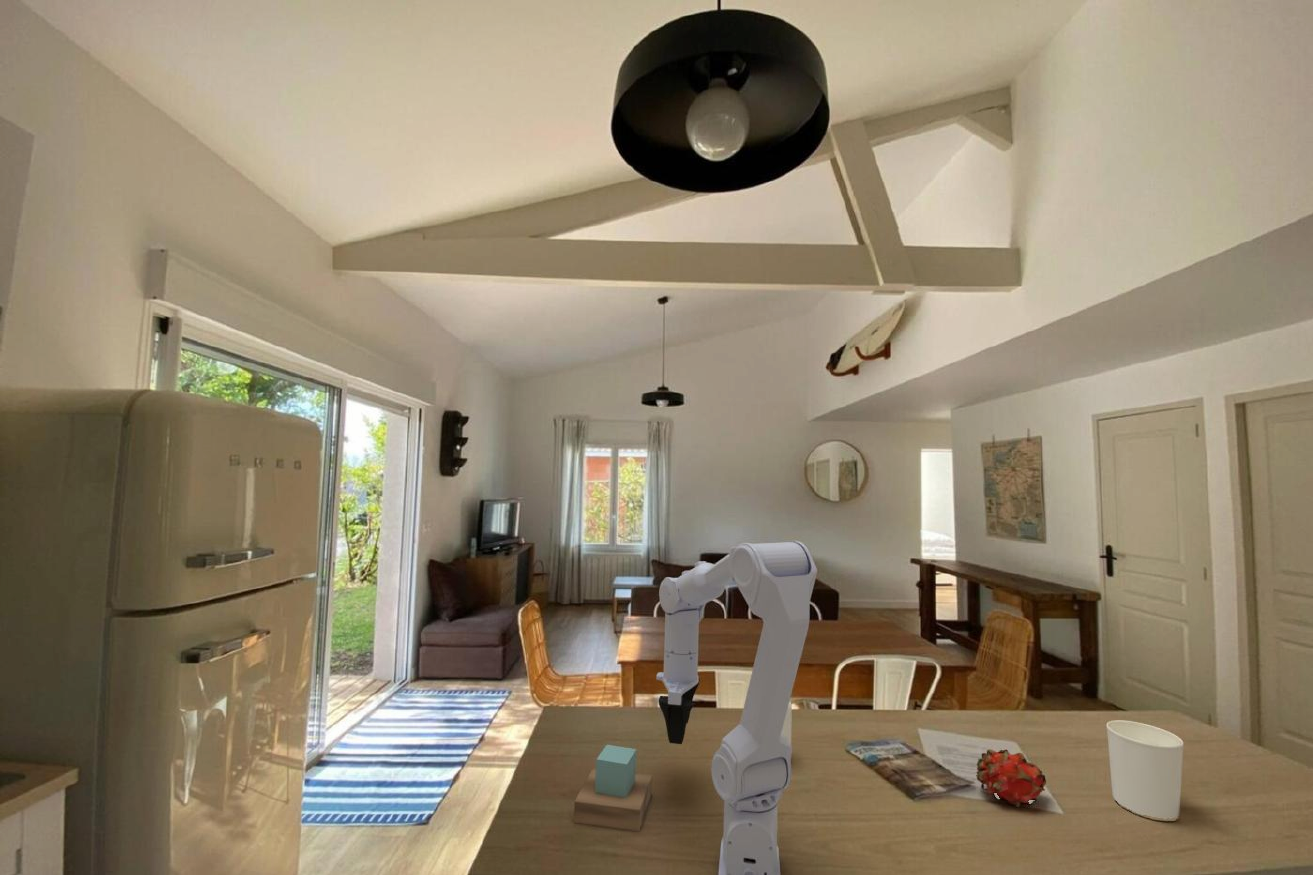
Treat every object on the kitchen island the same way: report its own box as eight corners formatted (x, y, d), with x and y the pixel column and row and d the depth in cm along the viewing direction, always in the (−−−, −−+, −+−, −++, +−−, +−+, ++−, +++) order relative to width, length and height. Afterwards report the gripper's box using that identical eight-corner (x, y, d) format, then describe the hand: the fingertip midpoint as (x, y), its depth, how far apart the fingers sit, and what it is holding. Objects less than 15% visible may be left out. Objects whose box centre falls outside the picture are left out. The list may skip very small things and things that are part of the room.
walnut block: (639, 834, 85) (639, 810, 86) (573, 825, 87) (574, 801, 87) (651, 797, 95) (651, 775, 95) (592, 789, 97) (593, 768, 97)
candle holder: (1155, 829, 89) (1154, 749, 90) (1092, 794, 99) (1091, 722, 100) (1201, 821, 92) (1199, 743, 93) (1135, 788, 101) (1134, 717, 102)
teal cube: (625, 798, 89) (627, 764, 89) (595, 792, 90) (596, 759, 90) (635, 781, 93) (636, 749, 94) (605, 776, 95) (607, 744, 95)
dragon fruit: (968, 805, 97) (1037, 816, 98) (998, 798, 91) (1072, 810, 91) (958, 749, 103) (1023, 760, 103) (985, 738, 96) (1055, 750, 97)
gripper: (664, 635, 106) (662, 711, 105) (650, 661, 91) (647, 749, 91) (703, 638, 104) (701, 715, 104) (694, 665, 90) (692, 754, 89)
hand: (679, 732), depth 97 cm, fingers open, 7 cm apart
